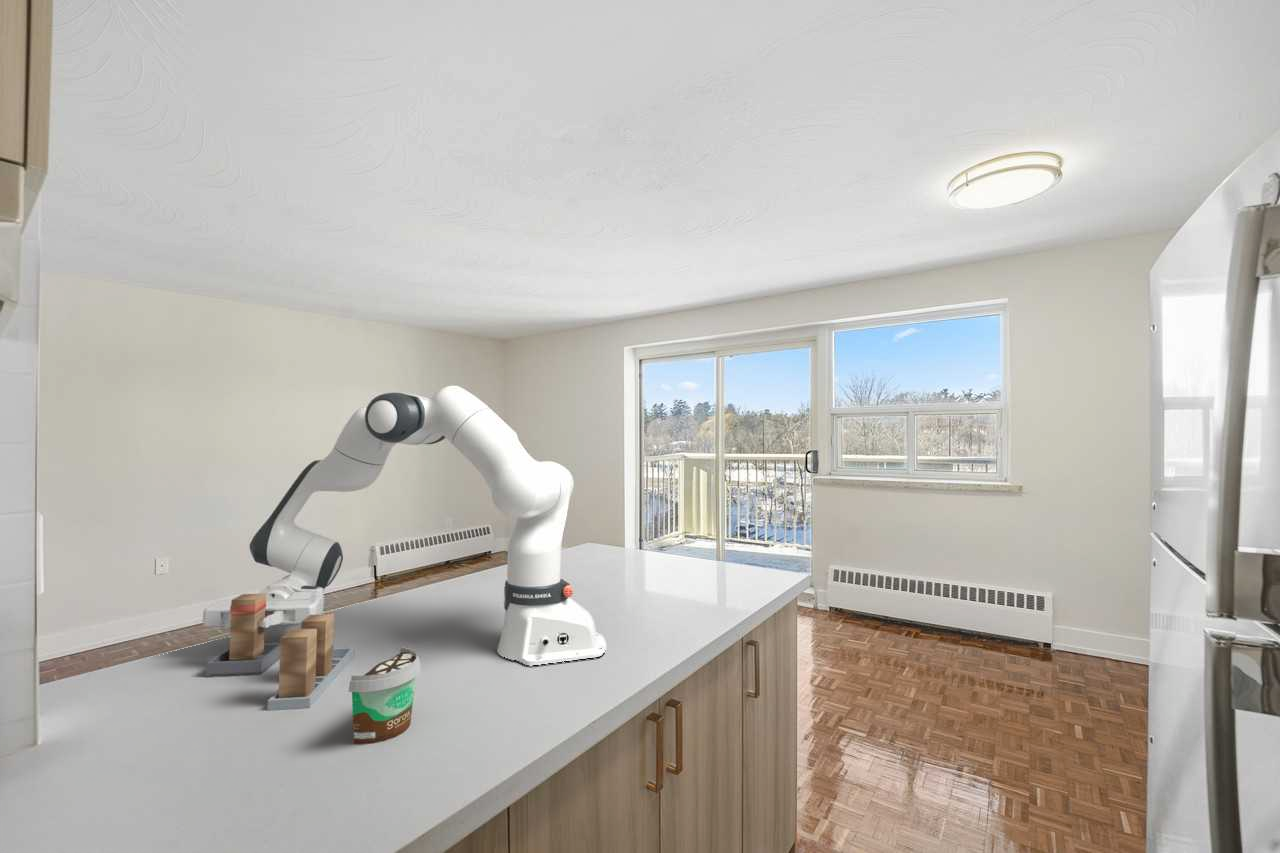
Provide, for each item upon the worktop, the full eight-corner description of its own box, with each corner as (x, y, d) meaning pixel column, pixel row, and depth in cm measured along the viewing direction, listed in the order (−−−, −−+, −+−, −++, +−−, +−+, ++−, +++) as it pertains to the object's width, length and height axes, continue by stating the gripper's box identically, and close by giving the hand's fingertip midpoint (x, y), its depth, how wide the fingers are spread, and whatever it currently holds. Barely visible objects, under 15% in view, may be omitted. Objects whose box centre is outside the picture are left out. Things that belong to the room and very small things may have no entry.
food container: (385, 754, 77) (387, 681, 78) (346, 749, 79) (348, 676, 79) (435, 712, 90) (437, 649, 90) (400, 708, 91) (402, 645, 91)
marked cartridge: (264, 650, 108) (266, 593, 109) (253, 659, 104) (255, 599, 105) (240, 651, 108) (242, 594, 108) (228, 660, 104) (230, 600, 104)
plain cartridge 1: (314, 694, 95) (317, 628, 95) (305, 705, 91) (307, 636, 91) (289, 695, 94) (291, 629, 95) (278, 706, 90) (280, 637, 91)
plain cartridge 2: (332, 674, 103) (334, 614, 103) (323, 683, 99) (325, 621, 99) (308, 675, 102) (310, 614, 103) (299, 685, 98) (301, 621, 99)
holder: (354, 655, 112) (354, 647, 112) (309, 707, 90) (310, 698, 90) (321, 656, 111) (321, 648, 111) (267, 710, 89) (267, 700, 89)
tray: (283, 655, 111) (283, 642, 111) (261, 674, 102) (261, 660, 102) (232, 657, 110) (233, 644, 110) (205, 677, 101) (206, 663, 101)
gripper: (225, 589, 117) (183, 609, 104) (331, 587, 121) (304, 606, 107) (224, 620, 117) (182, 644, 103) (330, 616, 121) (303, 639, 107)
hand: (245, 624), depth 105 cm, fingers closed on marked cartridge, 4 cm apart
